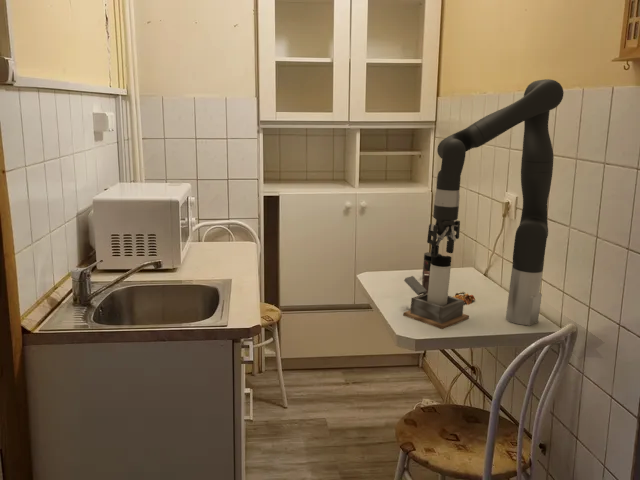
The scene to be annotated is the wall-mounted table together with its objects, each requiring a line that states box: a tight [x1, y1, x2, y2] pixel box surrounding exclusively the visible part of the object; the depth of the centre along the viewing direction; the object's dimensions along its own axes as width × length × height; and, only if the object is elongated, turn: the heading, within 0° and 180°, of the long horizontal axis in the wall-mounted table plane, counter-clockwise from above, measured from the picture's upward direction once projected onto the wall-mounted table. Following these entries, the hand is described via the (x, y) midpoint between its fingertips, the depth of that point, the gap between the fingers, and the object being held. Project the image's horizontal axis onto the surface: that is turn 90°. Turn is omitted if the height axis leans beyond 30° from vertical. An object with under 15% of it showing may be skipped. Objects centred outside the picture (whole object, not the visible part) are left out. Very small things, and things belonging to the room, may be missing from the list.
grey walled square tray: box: [402, 293, 470, 330], centre depth 191 cm, size 15×15×6 cm
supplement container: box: [421, 251, 443, 280], centre depth 230 cm, size 7×7×10 cm
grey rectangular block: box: [403, 275, 427, 296], centre depth 196 cm, size 7×4×1 cm
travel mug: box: [427, 253, 452, 306], centre depth 189 cm, size 6×7×20 cm
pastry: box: [452, 291, 476, 306], centre depth 207 cm, size 7×12×4 cm, turn 141°
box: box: [421, 270, 430, 294], centre depth 215 cm, size 6×6×7 cm
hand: (442, 254), depth 187 cm, fingers open, 8 cm apart
